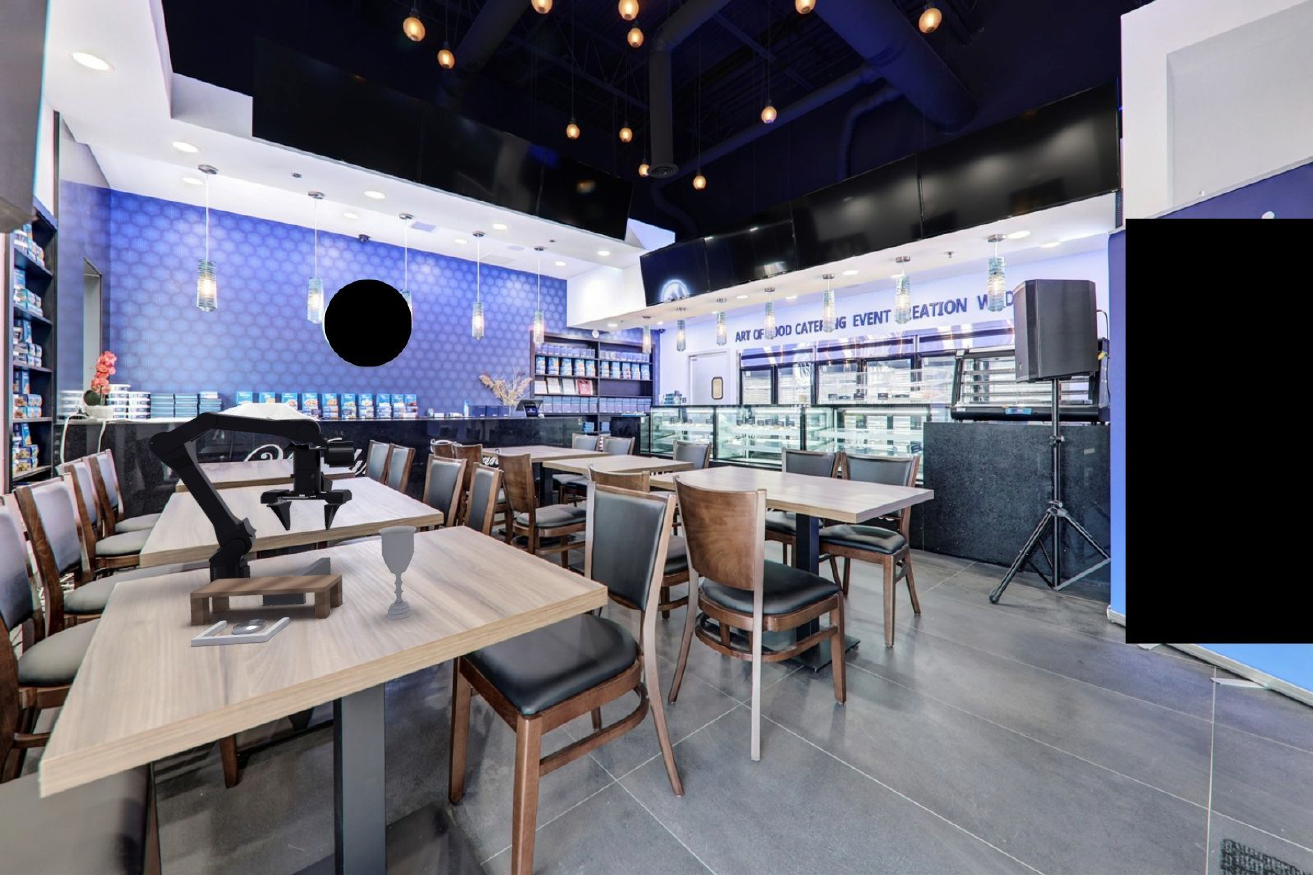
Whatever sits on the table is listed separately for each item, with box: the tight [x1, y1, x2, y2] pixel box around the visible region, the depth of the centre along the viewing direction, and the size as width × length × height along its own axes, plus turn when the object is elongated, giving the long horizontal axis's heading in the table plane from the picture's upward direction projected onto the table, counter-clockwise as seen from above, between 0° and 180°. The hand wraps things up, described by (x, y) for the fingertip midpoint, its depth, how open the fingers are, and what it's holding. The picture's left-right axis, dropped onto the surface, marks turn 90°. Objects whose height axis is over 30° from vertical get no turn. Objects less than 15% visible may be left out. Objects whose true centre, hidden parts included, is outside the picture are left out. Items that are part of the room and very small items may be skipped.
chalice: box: [378, 525, 417, 620], centre depth 105 cm, size 7×7×18 cm
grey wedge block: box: [262, 556, 332, 607], centre depth 120 cm, size 8×20×4 cm, turn 10°
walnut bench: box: [189, 573, 344, 627], centre depth 105 cm, size 24×8×6 cm, turn 100°
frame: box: [190, 616, 290, 647], centre depth 96 cm, size 12×8×1 cm, turn 100°
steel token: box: [232, 618, 267, 635], centre depth 98 cm, size 5×5×1 cm
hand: (308, 530), depth 127 cm, fingers open, 9 cm apart
